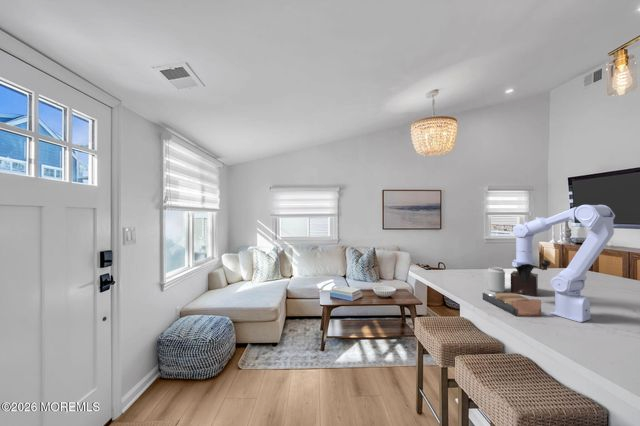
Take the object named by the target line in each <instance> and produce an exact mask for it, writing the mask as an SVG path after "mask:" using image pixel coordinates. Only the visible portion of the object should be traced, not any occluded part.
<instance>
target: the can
mask: <svg viewBox="0 0 640 426" xmlns="http://www.w3.org/2000/svg"><path fill="white" fill-rule="evenodd" d="M486 271H487V272H486V277H487V279H486V285H487V287H486V288H487V290H488V291H489V290H490V292H492V293H504V292H505V291H506V282H505V281H506V272H505V270H504V267H498V266H488V269H487V270H486Z"/></svg>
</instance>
